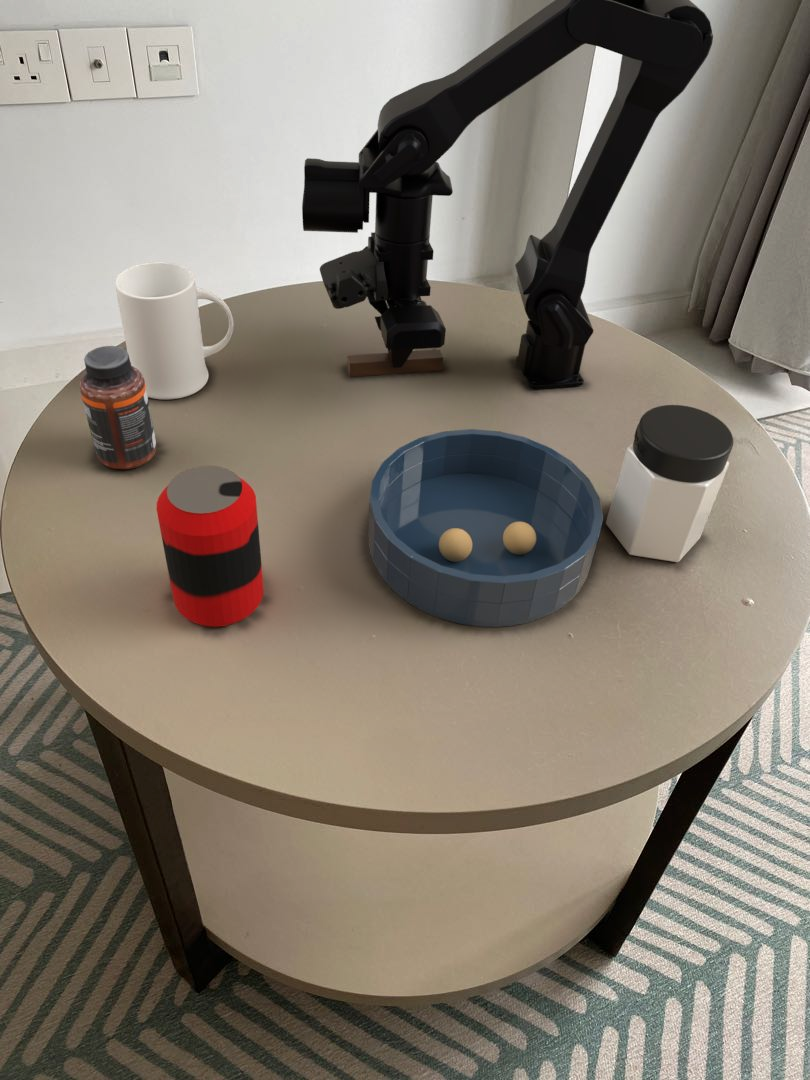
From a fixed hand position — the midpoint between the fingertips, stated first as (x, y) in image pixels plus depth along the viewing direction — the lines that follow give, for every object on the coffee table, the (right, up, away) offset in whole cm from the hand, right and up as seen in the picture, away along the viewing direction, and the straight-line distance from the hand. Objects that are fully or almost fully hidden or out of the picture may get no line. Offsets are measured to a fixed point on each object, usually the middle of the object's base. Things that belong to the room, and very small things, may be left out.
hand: (395, 362), depth 101 cm
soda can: (-15, -26, -26) cm, 40 cm away
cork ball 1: (+6, -21, -23) cm, 32 cm away
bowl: (+8, -21, -20) cm, 30 cm away
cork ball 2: (+12, -21, -22) cm, 32 cm away
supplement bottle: (-27, -12, -13) cm, 32 cm away
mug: (-24, -3, -3) cm, 24 cm away
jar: (+25, -20, -17) cm, 36 cm away
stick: (0, -1, +1) cm, 1 cm away
